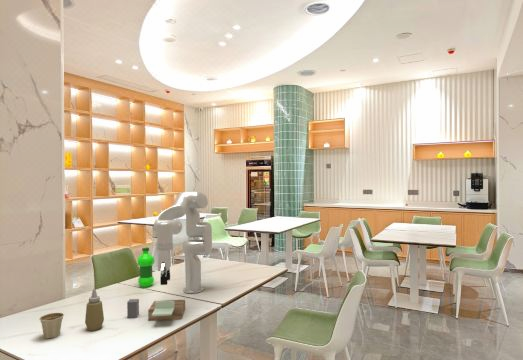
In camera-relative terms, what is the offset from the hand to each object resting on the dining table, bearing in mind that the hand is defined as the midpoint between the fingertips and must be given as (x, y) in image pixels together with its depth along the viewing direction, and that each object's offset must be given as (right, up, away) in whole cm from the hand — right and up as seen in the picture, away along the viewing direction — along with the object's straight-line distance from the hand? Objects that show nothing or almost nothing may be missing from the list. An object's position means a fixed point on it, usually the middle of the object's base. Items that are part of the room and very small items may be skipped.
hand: (165, 282), depth 175 cm
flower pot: (-45, -19, -19) cm, 52 cm away
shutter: (+1, -13, -6) cm, 14 cm away
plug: (-17, -18, +3) cm, 25 cm away
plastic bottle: (-28, -19, +55) cm, 64 cm away
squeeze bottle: (-30, -18, -11) cm, 37 cm away
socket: (0, -18, +4) cm, 18 cm away
